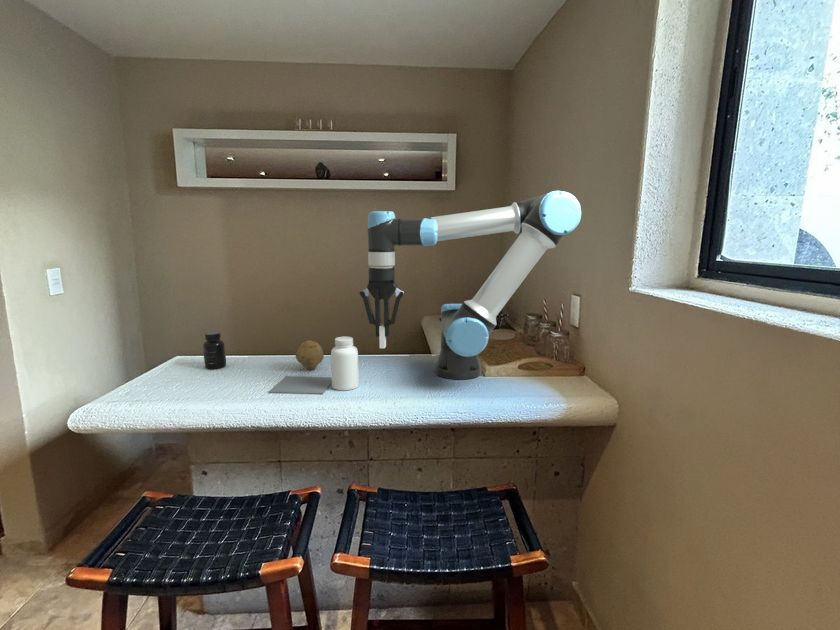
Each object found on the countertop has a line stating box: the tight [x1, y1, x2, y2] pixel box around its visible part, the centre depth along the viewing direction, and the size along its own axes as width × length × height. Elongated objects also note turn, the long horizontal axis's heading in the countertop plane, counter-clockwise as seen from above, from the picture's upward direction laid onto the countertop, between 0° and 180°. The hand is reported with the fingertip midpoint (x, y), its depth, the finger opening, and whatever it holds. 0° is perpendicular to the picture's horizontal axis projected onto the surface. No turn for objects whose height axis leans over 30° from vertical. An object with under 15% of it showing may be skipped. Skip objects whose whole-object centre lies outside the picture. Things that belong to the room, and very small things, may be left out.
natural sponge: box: [295, 339, 325, 370], centre depth 151 cm, size 9×9×10 cm
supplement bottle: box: [202, 331, 227, 371], centre depth 153 cm, size 7×7×12 cm
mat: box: [267, 375, 332, 395], centre depth 136 cm, size 16×14×1 cm
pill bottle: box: [330, 335, 360, 391], centre depth 134 cm, size 8×8×15 cm
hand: (382, 347), depth 132 cm, fingers closed
